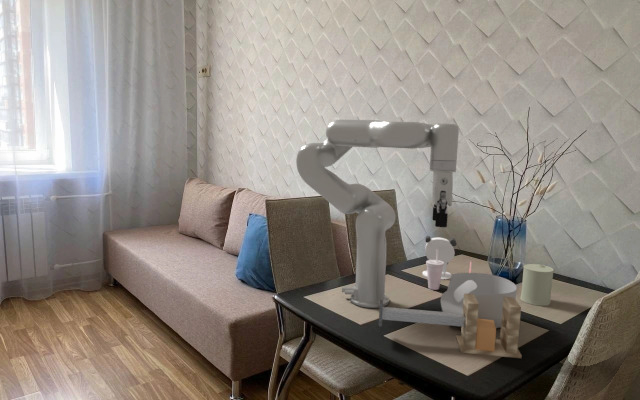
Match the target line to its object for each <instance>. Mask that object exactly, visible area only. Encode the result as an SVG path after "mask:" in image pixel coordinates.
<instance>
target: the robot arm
mask: <svg viewBox="0 0 640 400" xmlns="http://www.w3.org/2000/svg"><path fill="white" fill-rule="evenodd" d="M459 133H460V132H459V126H458V125H457V124H455V123H435V124H432V123H431V124H430V123H425V122H418V121H417V122H416V121H384V120H383V121H382V120H375V119H335V120H333V121H331V122H330V123H329V124H328V125H327V127H326V129H325V137H326V139H324V141H323V142H310V143H307V144H304V145H302V147H300V148H299V150H298V152H297V154H296V162H295V163H296V168H297V172H298V174H299V176H300V178H301V179H302V180H303V181H304V183H306V185H307V186H309V187H310V188H311V189H312V190H314V191H315V192H316V193H317V194H319V195H320V197H322V198H323V199H324V200H326V201H327V202H328V203H330V205H331V206H333V207H334V208H335V209H336V210H337V211H339V212H340V213H342V214H343V215H352V214H355V213H356V214H357V216H356V219H355V233H356V263H355V264H356V265H355V269H356V270H355V283H354V285H353V286H342V287H341V292H342V293H344V295H350V297H349V298H350V299H349V300H350V302H351V303H352V304H354V305H356V306H358V307H361V308H367V309H377V308H378V309H379V308H380V300H383V307H387V305H389V303H390V299H389V297H388V295H386V294H385V291H386V290H385V289H386V273H387V272H386V267H387V238H386V231H388V230H389V229H391V228H392V226H393V225H394V224H395V222H396V212H395V210H394V208H393V207H392V206H391V205H390V204H389V203H388V202H387V201H386V200H384V199H383V198H382V197H381V196H379V195H378V194H377V193H375V192H374V191H373V190H372V189H370V188H369V187H367V186H366V185H364V184H361V183H351V184H350V183H347V182H346V181H344V180H343V179H341V178H340V177H339V176H338V175H337V174H335V172H332V171H331V170H329V169H328V168H327V167H331V166H333V165H334V164H335V163H336V162H338V161H339V160H340V159H341V158H342V157H343V156H345V154H347V153H348V152H349V151H350V150H351V149H352V148H353V147H355V148H372V149H373V148H374V149H378V148H389V149H390V148H391V149H392V148H393V149H394V148H396V149H412V150H413V149H415V150H416V149H424V148H430V155H429V156H430V158H429V159H430V160H429V172H433V173H432V202H433V207H432V221H434V226H435V227H436V228H447V226H448V215H449V214H448V207H451V206H452V205H453V187H454V186H453V183H454V181H453V180H454V179H453V178H454V177H453V173H456V172H457V162H458V161H457V160H458V149H459V148H458V145H459Z"/></svg>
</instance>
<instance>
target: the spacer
mask: <svg viewBox="0 0 640 400" xmlns="http://www.w3.org/2000/svg"><path fill="white" fill-rule="evenodd" d="M496 336H497V328H496V327H495V323H494V320H487V319H479V318H478V319H477V331H476V344H475V349H480V350H488V351H494V349H495V339H496V338H497V337H496Z"/></svg>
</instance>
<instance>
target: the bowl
mask: <svg viewBox="0 0 640 400" xmlns="http://www.w3.org/2000/svg"><path fill="white" fill-rule="evenodd" d="M451 274H452V273H451ZM448 282H449V284H448V286H447V290H445V292H443V293H442V295H441V296H440V307H441V311H442V312H449V313H461V314H463V300H464V293H465V294H474V296H475V298H476V300H477V302H478V304H479V306H478V318H479V319H487V320H494V323H495V327H496V329H498V328H500V329H501V321H502V309H503V298H504V297H514V298H515V300H516V301H517V292H518V291H517V290H518V289H517V288H518V287H517V285H516V284H515V283H514V282H512V280H509V279H507V278H505V277H501V276H499V275H494V274H489V273H480V272H471V273H469V272H458V273H453V274H452V275H451V278H450V279H449V281H448Z"/></svg>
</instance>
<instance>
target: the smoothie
mask: <svg viewBox="0 0 640 400" xmlns="http://www.w3.org/2000/svg"><path fill="white" fill-rule="evenodd" d="M425 264H426V270H427V275H428V277H427V285H428V286H427V287H428V289H429V290H435V291H437V290H440V286H441V285H440V284H441V281H442V280H441V275H442V271H443V266H444V262H443V261H440V260H438V250H437V254H436V260H427V259H426V261H425Z"/></svg>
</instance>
